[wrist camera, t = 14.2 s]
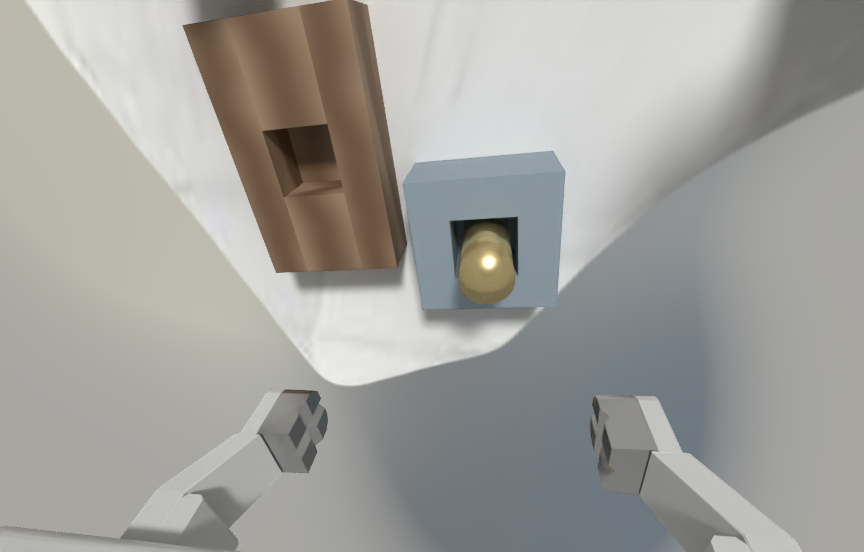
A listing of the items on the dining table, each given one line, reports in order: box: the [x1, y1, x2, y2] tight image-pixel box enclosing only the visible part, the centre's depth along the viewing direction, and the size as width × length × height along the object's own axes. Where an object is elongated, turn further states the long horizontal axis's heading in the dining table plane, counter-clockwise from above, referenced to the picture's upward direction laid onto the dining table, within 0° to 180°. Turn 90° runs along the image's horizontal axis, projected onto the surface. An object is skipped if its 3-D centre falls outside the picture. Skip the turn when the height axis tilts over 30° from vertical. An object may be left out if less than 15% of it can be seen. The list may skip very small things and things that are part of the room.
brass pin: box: [459, 217, 515, 304], centre depth 31 cm, size 4×4×10 cm
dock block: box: [403, 151, 565, 310], centre depth 34 cm, size 12×12×6 cm
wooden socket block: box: [183, 0, 407, 273], centre depth 32 cm, size 12×20×5 cm, turn 7°
